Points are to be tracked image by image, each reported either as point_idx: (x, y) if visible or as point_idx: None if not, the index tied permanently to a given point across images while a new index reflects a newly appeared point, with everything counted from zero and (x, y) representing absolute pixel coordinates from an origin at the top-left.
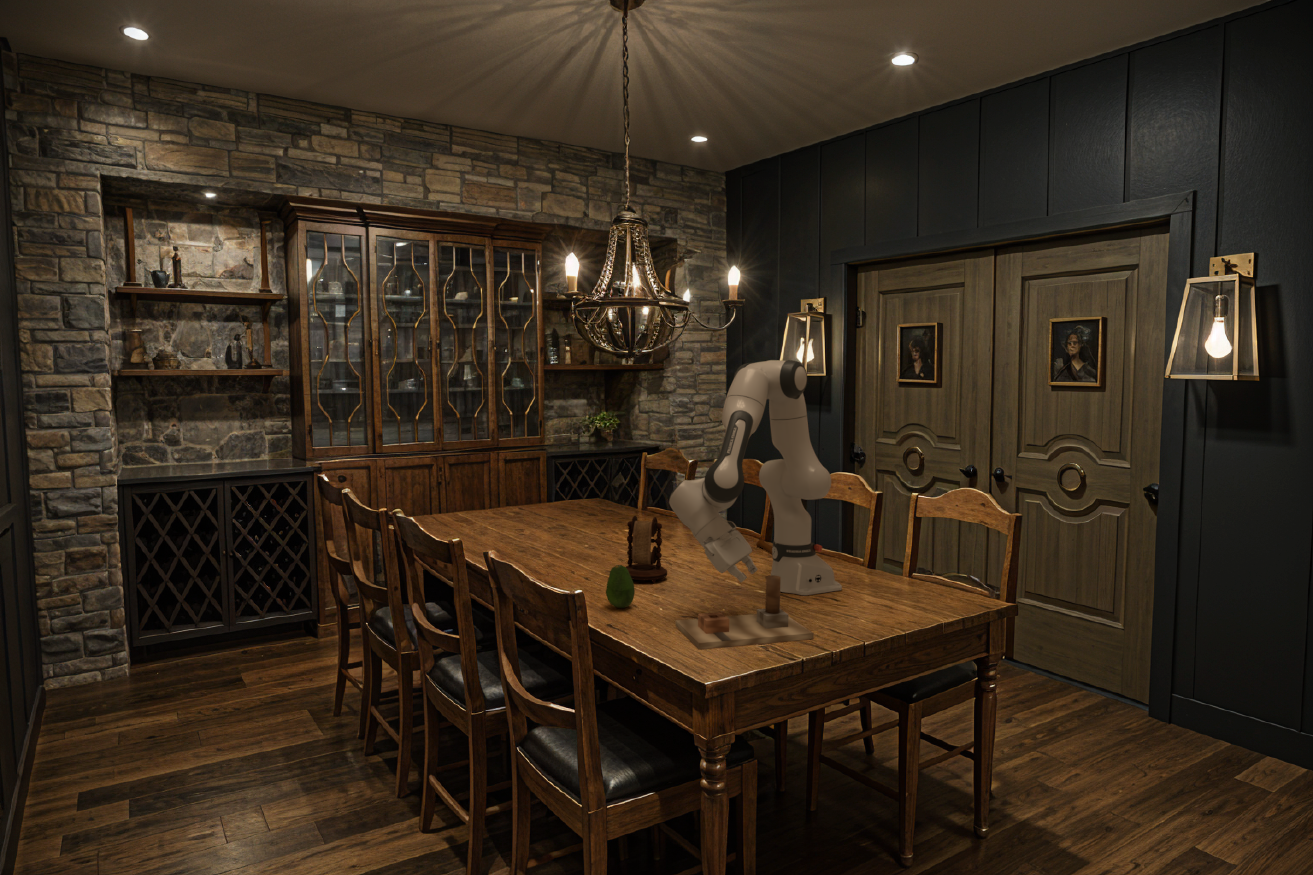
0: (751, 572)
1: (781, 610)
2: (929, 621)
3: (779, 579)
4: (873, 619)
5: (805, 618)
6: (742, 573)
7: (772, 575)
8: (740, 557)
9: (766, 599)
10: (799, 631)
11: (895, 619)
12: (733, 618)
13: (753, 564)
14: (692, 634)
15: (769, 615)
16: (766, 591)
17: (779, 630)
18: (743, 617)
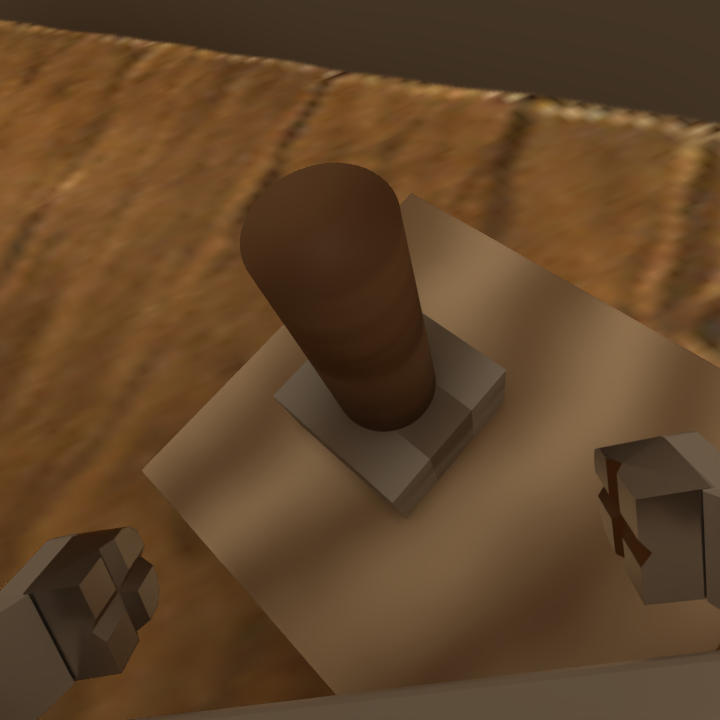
0: (149, 598)
1: None
2: (10, 46)
3: (337, 172)
4: (43, 162)
5: (128, 369)
6: (694, 479)
7: (253, 267)
8: (384, 708)
9: (414, 373)
10: (432, 247)
11: (20, 115)
12: None
13: (15, 592)
14: None
15: (479, 361)
16: (400, 347)
17: (484, 329)
18: (375, 644)
